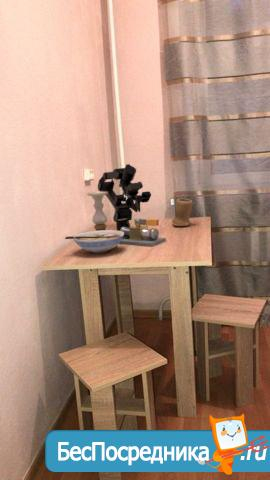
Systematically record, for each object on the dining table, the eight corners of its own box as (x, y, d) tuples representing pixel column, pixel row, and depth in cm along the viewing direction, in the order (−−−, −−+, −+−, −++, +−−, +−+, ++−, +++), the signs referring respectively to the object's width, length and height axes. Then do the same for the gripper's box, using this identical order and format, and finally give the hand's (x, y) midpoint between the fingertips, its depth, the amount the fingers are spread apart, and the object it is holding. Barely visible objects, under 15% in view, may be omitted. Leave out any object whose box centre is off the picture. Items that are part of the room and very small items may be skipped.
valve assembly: (113, 243, 202) (111, 225, 201) (127, 238, 212) (126, 221, 210) (152, 246, 190) (151, 228, 188) (165, 241, 200) (164, 223, 198)
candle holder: (109, 237, 218) (105, 190, 214) (115, 240, 208) (111, 192, 203) (88, 239, 215) (84, 192, 210) (93, 243, 205) (88, 194, 200)
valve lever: (133, 225, 199) (133, 219, 198) (137, 224, 201) (136, 218, 201) (156, 226, 192) (155, 220, 192) (159, 224, 195) (159, 218, 194)
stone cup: (194, 227, 230) (193, 199, 226) (172, 228, 231) (170, 200, 228) (192, 222, 244) (191, 196, 241) (172, 223, 245) (170, 197, 242)
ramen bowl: (133, 245, 196) (131, 227, 195) (120, 257, 175) (119, 238, 173) (82, 245, 202) (80, 229, 201) (63, 258, 180) (61, 239, 179)
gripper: (114, 178, 205) (125, 203, 197) (148, 175, 212) (160, 198, 205) (109, 193, 214) (119, 217, 206) (142, 189, 221) (153, 213, 214)
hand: (138, 211), depth 208 cm, fingers closed
